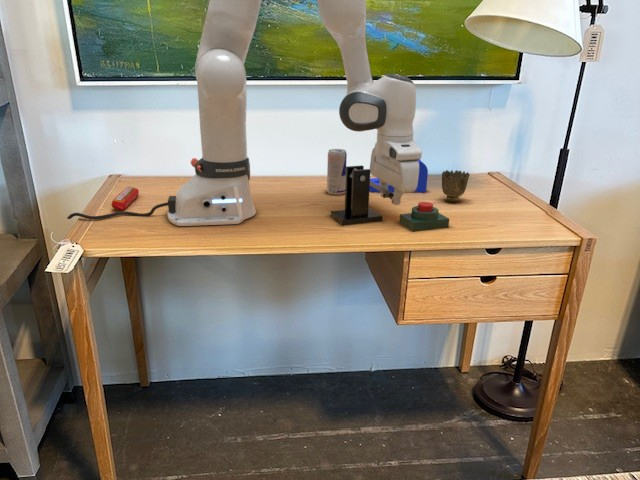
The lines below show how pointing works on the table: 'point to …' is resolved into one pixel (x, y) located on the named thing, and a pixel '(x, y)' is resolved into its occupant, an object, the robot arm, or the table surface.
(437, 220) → the button block
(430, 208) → the button
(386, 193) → the lever
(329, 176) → the energy drink
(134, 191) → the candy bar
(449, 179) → the cup
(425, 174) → the bracket
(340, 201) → the table surface
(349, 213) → the bracket
